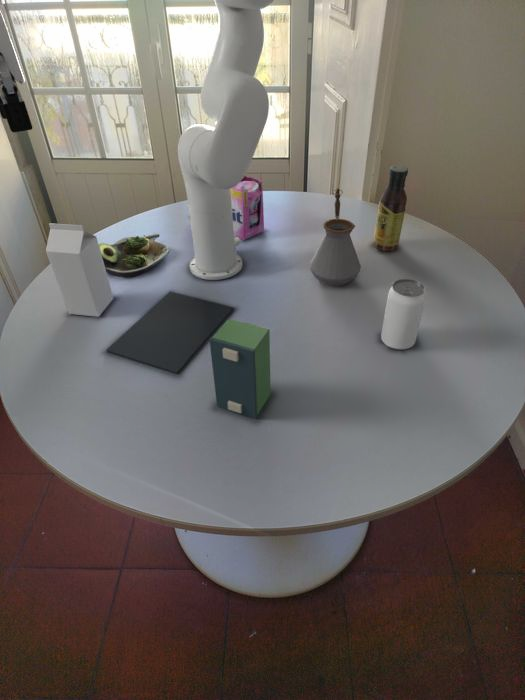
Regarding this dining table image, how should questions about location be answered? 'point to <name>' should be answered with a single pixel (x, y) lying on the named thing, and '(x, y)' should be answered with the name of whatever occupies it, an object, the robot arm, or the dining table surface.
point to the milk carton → (79, 269)
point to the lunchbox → (241, 367)
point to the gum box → (247, 207)
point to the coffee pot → (336, 252)
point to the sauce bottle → (391, 210)
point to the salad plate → (132, 255)
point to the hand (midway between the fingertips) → (17, 123)
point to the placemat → (171, 332)
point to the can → (403, 314)
